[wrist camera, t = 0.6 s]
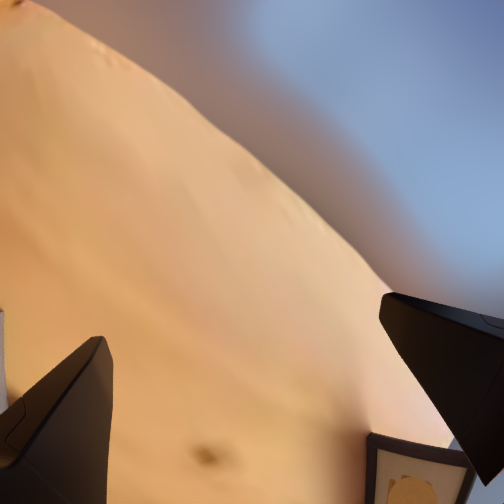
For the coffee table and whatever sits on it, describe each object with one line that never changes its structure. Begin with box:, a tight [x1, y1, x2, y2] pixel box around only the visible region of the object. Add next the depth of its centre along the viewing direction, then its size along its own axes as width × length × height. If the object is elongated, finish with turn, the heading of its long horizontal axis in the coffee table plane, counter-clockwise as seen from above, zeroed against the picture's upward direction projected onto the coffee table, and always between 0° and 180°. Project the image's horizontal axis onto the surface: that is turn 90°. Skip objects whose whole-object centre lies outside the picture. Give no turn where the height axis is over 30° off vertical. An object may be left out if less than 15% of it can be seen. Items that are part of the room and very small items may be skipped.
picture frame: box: [366, 432, 477, 504], centre depth 26 cm, size 23×9×15 cm, turn 11°
